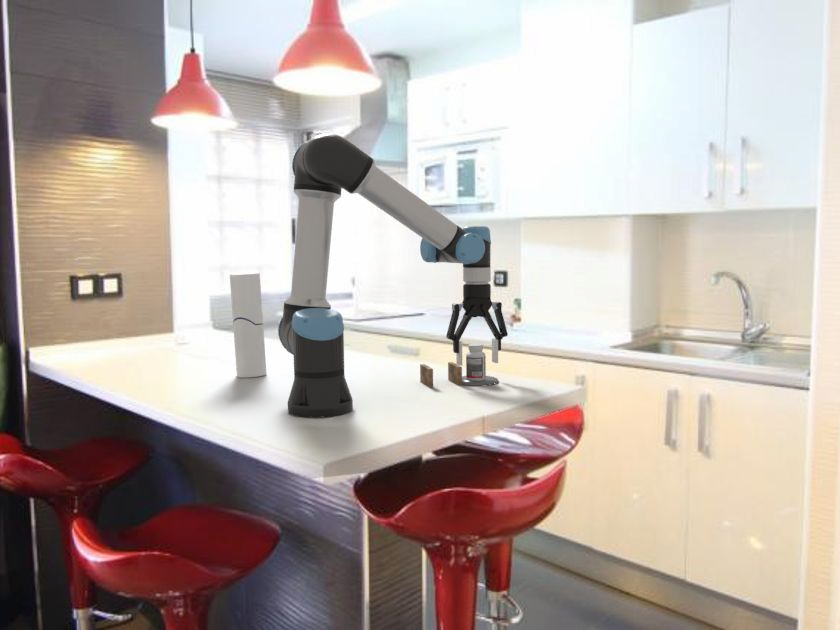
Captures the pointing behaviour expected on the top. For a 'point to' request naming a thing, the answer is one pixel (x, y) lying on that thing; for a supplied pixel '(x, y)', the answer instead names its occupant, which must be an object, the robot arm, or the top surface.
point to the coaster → (479, 383)
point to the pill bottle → (475, 363)
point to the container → (248, 325)
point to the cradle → (453, 374)
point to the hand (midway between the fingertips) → (477, 363)
